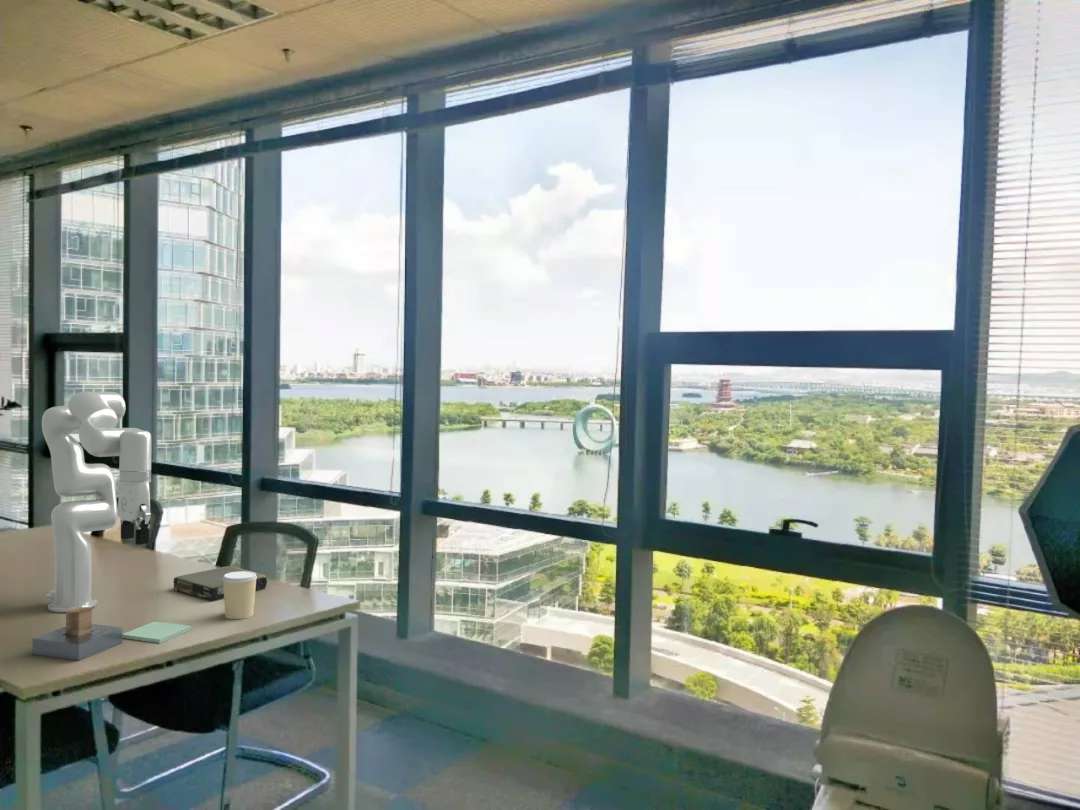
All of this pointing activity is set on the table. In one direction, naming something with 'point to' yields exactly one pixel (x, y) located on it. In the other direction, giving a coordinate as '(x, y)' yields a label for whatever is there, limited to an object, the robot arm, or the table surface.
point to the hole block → (77, 642)
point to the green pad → (156, 632)
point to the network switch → (211, 582)
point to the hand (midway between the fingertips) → (134, 541)
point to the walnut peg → (78, 621)
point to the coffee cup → (239, 594)
